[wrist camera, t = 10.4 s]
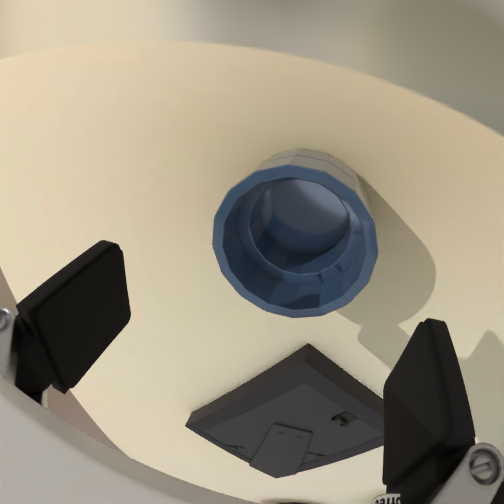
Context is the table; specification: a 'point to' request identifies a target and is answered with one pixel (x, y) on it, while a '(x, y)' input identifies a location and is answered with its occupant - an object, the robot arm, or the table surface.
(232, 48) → the table surface
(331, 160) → the blue round container
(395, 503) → the cup
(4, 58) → the table surface
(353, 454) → the picture frame
